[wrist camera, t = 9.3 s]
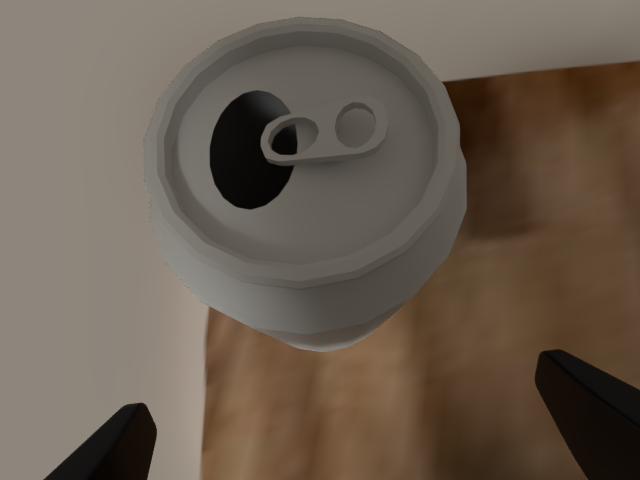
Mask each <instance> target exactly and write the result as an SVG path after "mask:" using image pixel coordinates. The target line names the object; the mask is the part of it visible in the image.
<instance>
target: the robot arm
mask: <svg viewBox="0 0 640 480" xmlns="http://www.w3.org/2000/svg"><path fill="white" fill-rule="evenodd" d="M535 384H536V387H537V389H538V391H539V393H540V395H541V397H542V399H543V401H544V402H545V404H546V406H547V408H548V410H549V412H550V414H551V416H552V417H553V419H554V421H555V423H556V425H557V427H558V429H559V431H560V433H561V434H562V436H563V438H564V440H565V442H566V444H567V446H568V447H569V449H570V451H571V453H572V455H573V456H574V458H575V460H576V461H577V463H578V464H579V466H580V468H581V469H582V471H583V472H584V474H585V475H586V477H587V478H588V480H640V390H639V389H637V388H635V387H633V386H631V385H629V384H627V383H625V382H623V381H621V380H619V379H617V378H616V377H614V376H612V375H610V374H608V373H606V372H604V371H602V370H600V369H598V368H596V367H594V366H592V365H590V364H588V363H587V362H585V361H583V360H581V359H579V358H577V357H575V356H573V355H571V354H569V353H567V352H565V351H563V350H559V349H556V350H548V351H543V352H541V353H540V354H539V358H538V363H537V368H536V373H535ZM156 437H157V429H156V425H155V423H154V421H153V418H152V416H151V414H150V412H149V410H148V408H147V406H146V405H145V404H144V403H134V404H127V405H125V406H123V407H122V408H121V409H119V410H118V412H116V413H115V414H114V415H113V416H112V417H111V418H110V419H109V420H108V421H107V422H105V423H104V424H103V425H102V426H101V427H100V428H99V429H98V430H97V431H96V432H95V433H93V434H92V435H91V436H90V437H89V438H88V439H87V440H86V441H85V442H84V443H83V444H82V445H81V446H79V447H78V448H77V449H76V450H75V451H74V452H73V453H72V454H71V455H70V456H69V457H68V458H67V459H65V460H64V461H63V462H62V463H61V464H60V465H59V466H58V467H57V468H56V469H55V470H53V471H52V472H51V473H50V474H49V475H48V476H47V477H46V478H45V479H44V480H147V478H148V473H149V469H150V464H151V460H152V455H153V451H154V446H155V442H156Z"/></svg>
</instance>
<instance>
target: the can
mask: <svg viewBox="0 0 640 480" xmlns="http://www.w3.org/2000/svg"><path fill="white" fill-rule="evenodd" d="M144 183H145V185H146V187H147V190H148V193H149V195H150V197H149V199H150V223H151V226H152V228H153V231H154V233H155V235H156V238H157V241H158V244H159V246H160V248H161V251H162V254H163V256H164V259H165V261H166V264H167V265H168V266H169V268H170V269H171V270H172V271H173V272H174V273H175V274H176V275H177V276H178V277H179V279H180V280H181V281H182V282H183V283H184V284H185V285H186V286H187V287H188V288H189V289H190V290H191V292H192V293H193V294H194V295H195V296H196V297H197V298H198V299H199V300H200V301H201V302H202V303H204V304H206V305H208V306H210V307H212V308H214V309H216V310H218V311H220V312H222V313H224V314H226V315H228V316H230V317H231V318H233V319H235V320H237V321H239V322H241V323H243V324H245V325H247V326H249V327H251V328H253V329H256V330H258V331H260V332H262V333H265V334H267V335H269V336H271V337H274V338H276V339H278V340H280V341H282V342H285V343H287V344H289V345H291V346H294V347H296V348H299V349H306V350H313V351H320V352H325V351H331V350H336V349H341V348H346V347H350V346H351V345H353V344H355V343H357V342H358V341H360V340H362V339H364V338H365V337H367V336H369V335H371V334H372V333H373V332H374V331H375V330H376V329H377V328H379V327H380V326H381V325H382V324H383V323H384V322H385V321H386V320H387V319H389V318H390V317H391V316H392V315H393V314H394V313H395V312H396V311H398V310H399V309H400V308H401V307H402V306H403V305H404V304H405V303H406V302H408V301H409V300H410V299H411V298H412V297H413V296H414V295H415V294H416V293H417V292H418V291H419V290H420V288H421V287H422V286H423V285H424V284H425V283H426V282H427V280H428V279H429V278H430V277H431V276H432V275H433V273H434V272H435V271H436V270H437V269H438V268H439V267H440V265H441V264H442V263H443V262H444V261H445V260H446V259H447V257H448V256H449V255H450V252H451V250H452V247H453V244H454V242H455V239H456V236H457V234H458V231H459V228H460V226H461V223H462V220H463V218H464V215H465V213H466V210H467V177H466V161H465V159H464V156H463V153H462V151H461V148H460V124H459V121H458V119H457V116H456V114H455V111H454V108H453V106H452V103H451V101H450V98H449V96H448V93H447V90H446V88H445V86H444V85H443V83H442V82H441V81H440V80H439V79H438V78H437V77H436V75H435V74H434V73H433V72H432V71H431V69H430V68H429V67H428V66H427V65H426V64H425V63H424V61H423V60H422V59H421V58H420V57H419V56H418V55H417V54H416V53H414V52H413V51H411V50H410V49H408V48H406V47H404V46H403V45H402V44H400V43H398V42H397V41H395V40H394V39H392V38H390V37H389V36H387V35H386V34H384V33H382V32H380V31H377V30H374V29H371V28H367V27H364V26H360V25H358V24H354V23H351V22H348V21H345V20H341V19H326V18H308V17H295V18H290V19H284V20H278V21H272V22H266V23H260V24H256V25H254V26H251V27H249V28H247V29H244V30H242V31H239V32H237V33H235V34H232V35H230V36H228V37H226V38H223V39H221V40H218V41H217V42H216V43H214V44H213V45H212V46H210V47H209V48H208V49H206V50H205V51H204V52H202V53H201V54H200V55H198V56H197V57H196V58H194V59H193V60H192V61H190V62H189V63H188V64H186V65H185V66H184V67H183V68H182V69H181V71H180V72H179V73H178V75H177V76H176V78H175V79H174V80H173V81H172V83H171V84H170V85H169V86H168V88H167V89H166V90H165V92H164V93H163V94H162V95H161V97H160V98H159V99H158V101H157V104H156V107H155V109H154V112H153V115H152V118H151V121H150V123H149V126H148V129H147V132H146V134H145V137H144Z"/></svg>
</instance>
